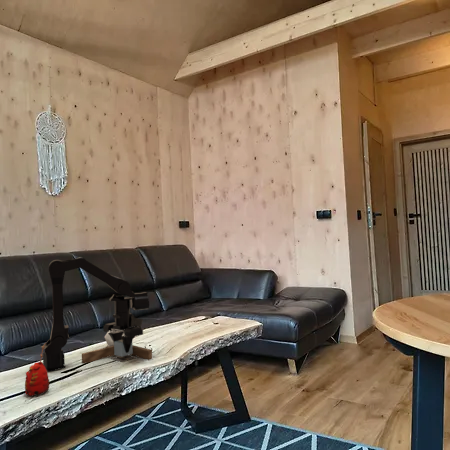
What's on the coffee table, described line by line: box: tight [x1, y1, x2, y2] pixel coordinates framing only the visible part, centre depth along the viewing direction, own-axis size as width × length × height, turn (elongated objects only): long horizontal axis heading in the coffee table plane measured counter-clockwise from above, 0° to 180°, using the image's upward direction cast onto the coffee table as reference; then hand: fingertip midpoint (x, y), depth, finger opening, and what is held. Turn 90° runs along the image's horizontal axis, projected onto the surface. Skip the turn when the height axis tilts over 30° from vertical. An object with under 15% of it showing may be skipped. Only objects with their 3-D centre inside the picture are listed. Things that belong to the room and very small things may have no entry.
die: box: [104, 330, 125, 347], centre depth 183 cm, size 8×9×10 cm
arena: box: [81, 344, 153, 364], centre depth 160 cm, size 19×19×4 cm
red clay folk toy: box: [24, 342, 50, 397], centre depth 129 cm, size 8×7×15 cm
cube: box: [113, 340, 133, 357], centre depth 164 cm, size 5×5×5 cm
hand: (123, 351), depth 164 cm, fingers closed on cube, 5 cm apart
